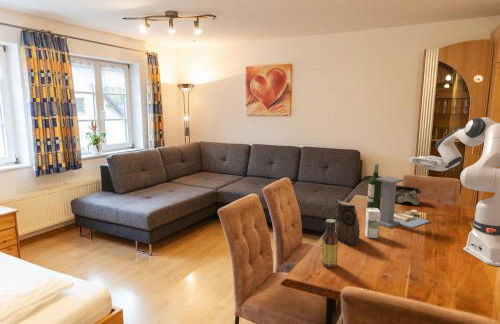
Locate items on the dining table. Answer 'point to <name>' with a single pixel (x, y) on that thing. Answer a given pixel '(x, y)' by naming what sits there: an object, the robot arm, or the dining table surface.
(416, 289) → the dining table surface
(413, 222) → the mat
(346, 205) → the black speaker
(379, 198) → the wine bottle
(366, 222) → the syrup box
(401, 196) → the hollow geode rock
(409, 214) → the board
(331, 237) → the sauce bottle
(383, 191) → the pedestal
